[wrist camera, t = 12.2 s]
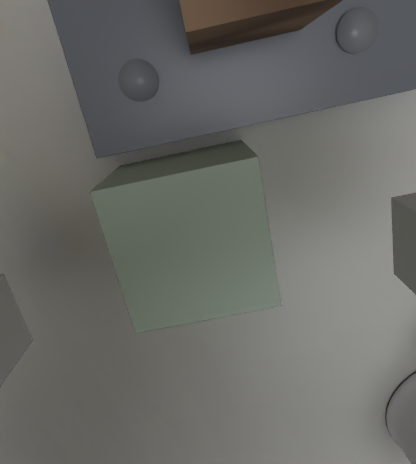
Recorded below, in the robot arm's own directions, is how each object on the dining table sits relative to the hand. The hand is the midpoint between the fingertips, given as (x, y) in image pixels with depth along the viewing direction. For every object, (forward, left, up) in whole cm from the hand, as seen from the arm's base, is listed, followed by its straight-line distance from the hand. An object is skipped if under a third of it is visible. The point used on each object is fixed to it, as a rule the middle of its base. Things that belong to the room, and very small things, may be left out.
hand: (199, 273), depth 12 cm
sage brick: (0, 0, -9) cm, 9 cm away
